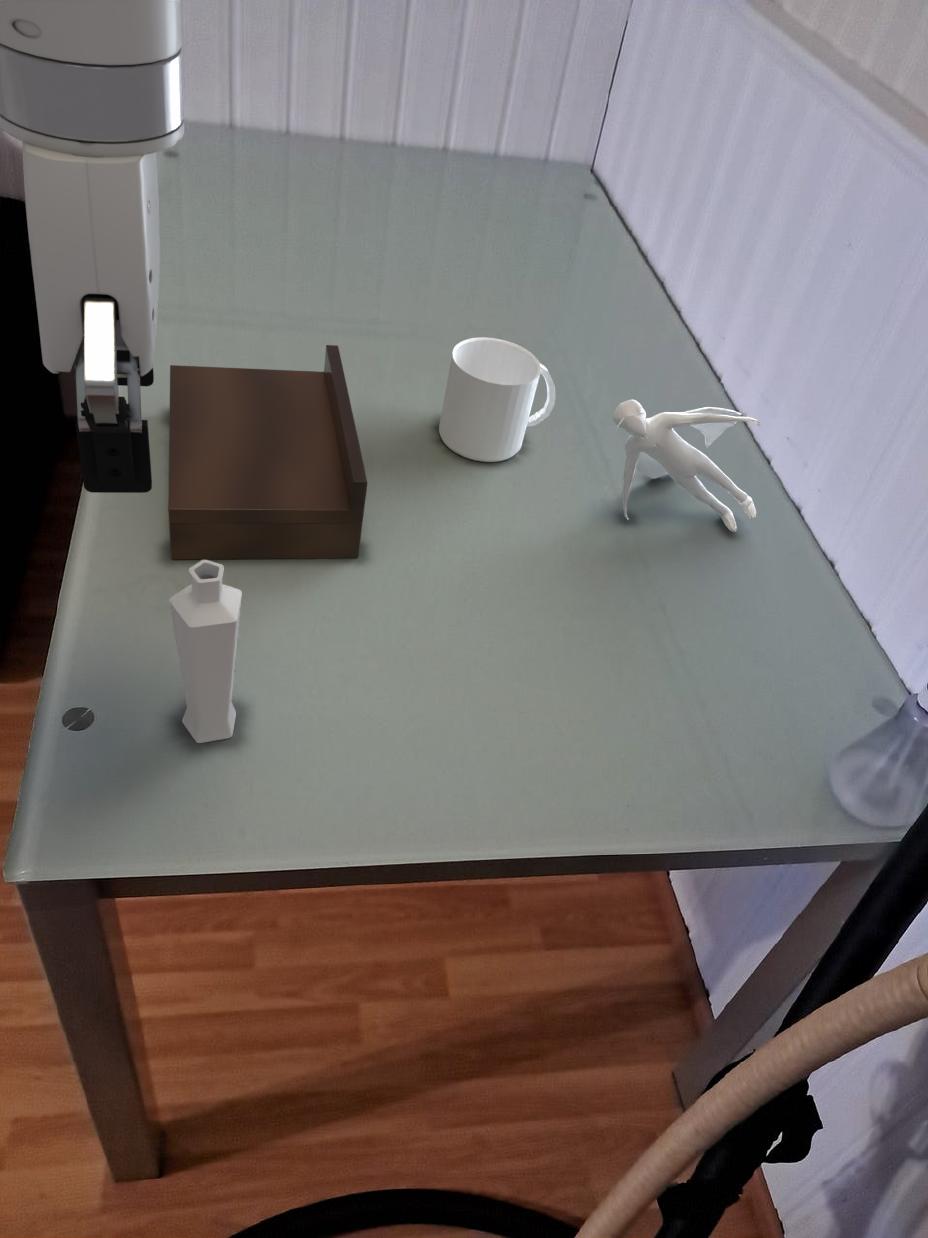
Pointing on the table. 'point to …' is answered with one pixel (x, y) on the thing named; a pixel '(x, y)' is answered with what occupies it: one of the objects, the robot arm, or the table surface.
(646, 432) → the figurine
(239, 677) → the table surface
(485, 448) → the mug
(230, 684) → the perfume bottle
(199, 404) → the wooden display stand
